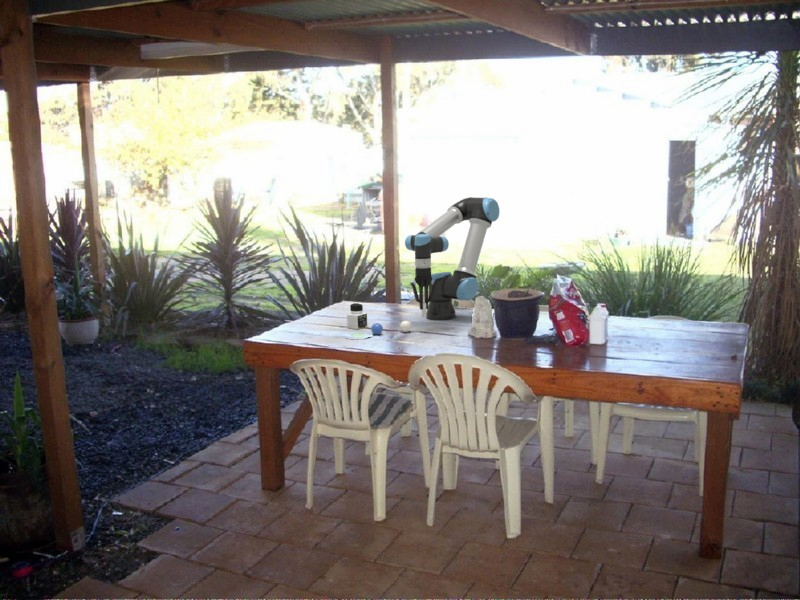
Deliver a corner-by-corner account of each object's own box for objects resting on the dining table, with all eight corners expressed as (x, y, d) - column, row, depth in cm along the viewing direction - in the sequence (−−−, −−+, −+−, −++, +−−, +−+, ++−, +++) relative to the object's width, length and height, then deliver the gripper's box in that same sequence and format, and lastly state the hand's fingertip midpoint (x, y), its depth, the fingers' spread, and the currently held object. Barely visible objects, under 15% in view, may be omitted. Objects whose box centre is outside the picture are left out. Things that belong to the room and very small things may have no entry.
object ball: (381, 332, 389) (381, 321, 388) (384, 335, 384) (383, 323, 382) (370, 333, 388) (369, 322, 387) (372, 336, 382) (372, 324, 381)
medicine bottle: (358, 329, 397) (357, 305, 395) (347, 328, 402) (346, 304, 400) (367, 326, 403) (366, 303, 401) (356, 325, 407) (355, 301, 405)
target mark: (370, 331, 392) (370, 331, 392) (376, 338, 378) (376, 337, 378) (341, 334, 389) (341, 334, 389) (346, 340, 375) (346, 340, 375)
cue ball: (410, 330, 392) (409, 319, 391) (413, 332, 387) (412, 321, 386) (399, 331, 391) (398, 320, 390) (401, 333, 385) (401, 322, 384)
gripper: (411, 268, 380) (412, 318, 384) (438, 267, 383) (439, 316, 387) (407, 266, 387) (408, 315, 391) (434, 265, 390) (435, 313, 394)
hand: (424, 316), depth 389 cm, fingers closed
